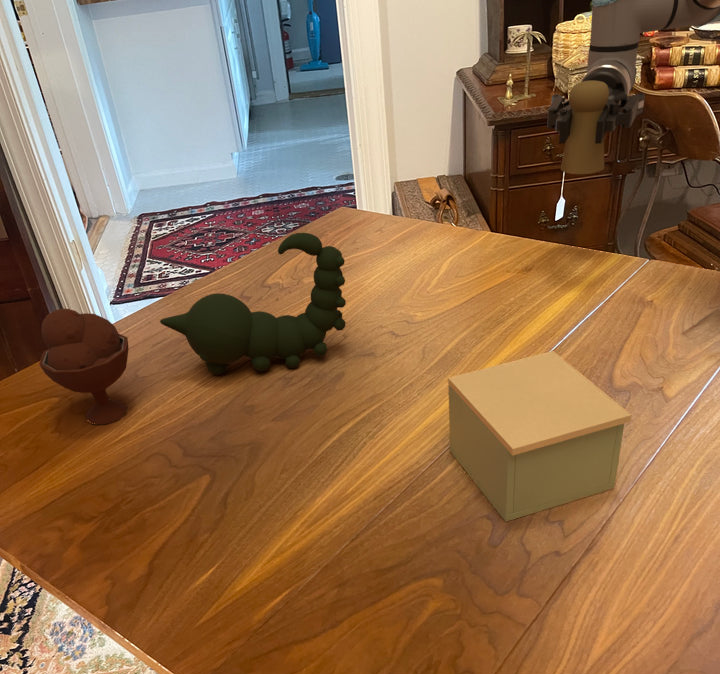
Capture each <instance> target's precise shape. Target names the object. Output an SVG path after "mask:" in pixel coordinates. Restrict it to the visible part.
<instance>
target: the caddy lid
mask: <svg viewBox="0 0 720 674" xmlns="http://www.w3.org/2000/svg"><path fill="white" fill-rule="evenodd" d="M447 383H448V385H450V387H451V388H452V389H453V390H454V391H455V392H456V393H457V394H458V395H459V397H460V398H461V399H462V400H463V401H464V402H465V403H466V404H467V405H468V407H469V408H470V409H471V410H472V411H473V412H474V413H475V414H476V415H477V417H478V418H479V419H480V420H481V421H482V422H483V423H484V424H485V426H486V427H487V428H488V429H489V430H490V431H491V432H492V433H493V434H494V436H495V437H496V438H497V439H498V440H499V441H500V442H501V443H502V444H503V446H504V447H505V448H506V449H507V450H508V451H509V452H510V453H511V454H512V455H516V454H520V453H523V452H527V451H530V450H534V449H537V448H541V447H544V446H548V445H551V444H555V443H558V442H562V441H565V440H568V439H572V438H575V437H579V436H582V435H586V434H589V433H593V432H596V431H600V430H603V429H607V428H610V427H614V426H617V425H620V424H624V425H625V424H627V423H630V422H631V420H632V414H631V413H630V412H628V410H626V409H625V408H624V407H622V406H621V404H619V403H617V401H616V400H614V399H612V397H611V396H609V395H608V394H607V393H606V392H604V391H603V390H601V389H600V388H599V387H598V386H597V385H596V384H594V383H593V382H592V381H591V380H590V379H588V378H587V377H586V376H584V375H583V374H582V373H581V372H580V371H578V370H577V369H576V368H575V367H574V366H572V365H571V364H570V363H569V362H568V361H566V360H565V359H564V358H563V357H561V356H560V355H559V354H558V353H556V351H554V350H550V351H546V352H543V353H539V354H538V353H537V354H535V355H531V356H527V357H523V358H520V359H516V360H512V361H508V362H504V363H500V364H496V365H493V366H488V367H484V368H481V369H477V370H473V371H469V372H465V373H461V374H458V375H453V376H451V377H450V376H449V377H447Z"/></svg>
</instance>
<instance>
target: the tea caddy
mask: <svg viewBox="0 0 720 674" xmlns="http://www.w3.org/2000/svg"><path fill="white" fill-rule="evenodd" d="M448 424H449V425H448V426H449V427H448V429H449V433H448V435H449V436H448V437H449V452H450V453H451V455H452V456H453V457H454V459H455V460H456V461H457V462H458V464H459V465H460V467H462V468H463V470H464V471H465V472H466V474H468V477H470V479H471V480H472V481H473V482H474V484H475V485H476V486H477V487H478V489H479V490H480V491H481V493H482V494H483V495H484V497H485V498H486V499H487V500H488V502H489V503H490V505H492V506H493V508H494V509H495V511H496V512H497V513H498V515H500V517H501V518H502V520H503V521H504V522H510V521H513V520H516V519H519V518H523V517H526V516H530V515H532V514H536V513H539V512H543V511H545V510H546V511H547V510H549V509H552V508H556V507H558V506H561V505H562V506H563V505H566V504H568V503H572V502H575V501H578V500H581V499H585V498H588V497H591V496H595V495H599V494H600V493H605V492H608V491H610V490H613V489H616V480H617V473H618V468H619V461H620V454H621V448H622V442H623V435H624V429H625V423H624V424H620V425H617V426H614V427H610V428H607V429H603V430H600V431H596V432H593V433H589V434H586V435H582V436H579V437H575V438H572V439H568V440H565V441H562V442H558V443H555V444H551V445H548V446H544V447H541V448H537V449H534V450H530V451H527V452H523V453H520V454H516V455H512V454H511V453H510V452H509V451H508V450H507V449H506V448H505V447H504V446H503V444H502V443H501V442H500V441H499V440H498V439H497V438H496V437H495V436H494V434H493V433H492V432H491V431H490V430H489V429H488V428H487V427H486V426H485V424H484V423H483V422H482V421H481V420H480V419H479V418H478V417H477V415H476V414H475V413H474V412H473V411H472V410H471V409H470V408H469V407H468V405H467V404H466V403H465V402H464V401H463V400H462V399H461V398H460V397H459V395H458V394H457V393H456V392H455V391H454V390H453V389H452V388H451V387H450V385H449V384H448Z"/></svg>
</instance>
